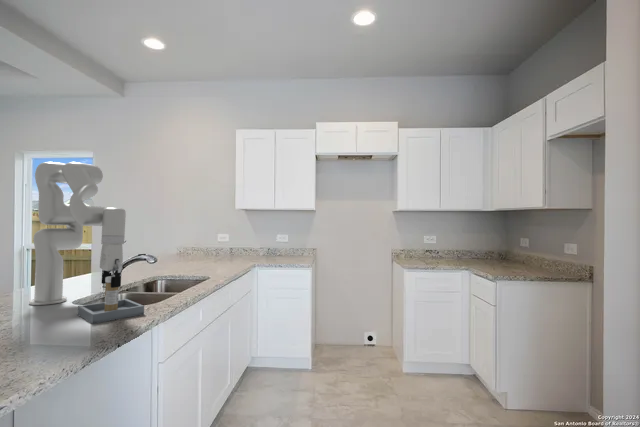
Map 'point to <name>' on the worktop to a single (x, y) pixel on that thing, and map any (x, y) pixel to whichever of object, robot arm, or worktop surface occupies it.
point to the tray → (97, 314)
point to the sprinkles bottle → (110, 296)
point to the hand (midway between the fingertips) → (110, 285)
